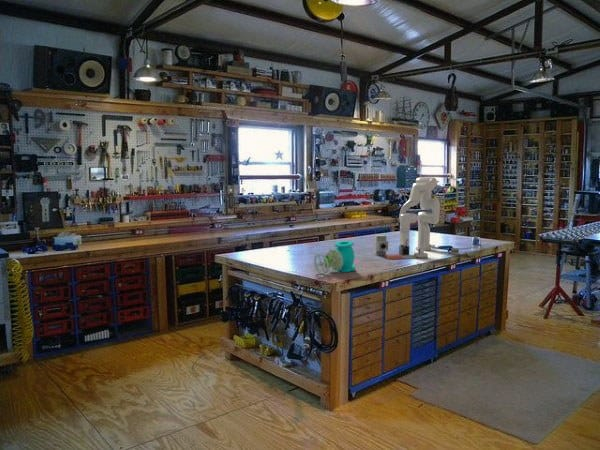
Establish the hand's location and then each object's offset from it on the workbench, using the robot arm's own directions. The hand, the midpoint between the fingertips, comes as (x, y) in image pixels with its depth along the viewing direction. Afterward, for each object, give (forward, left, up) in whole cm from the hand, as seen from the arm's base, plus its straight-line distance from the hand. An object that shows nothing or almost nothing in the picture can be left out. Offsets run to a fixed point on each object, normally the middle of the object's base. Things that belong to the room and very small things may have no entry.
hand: (404, 252), depth 390 cm
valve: (+69, +52, -2) cm, 87 cm away
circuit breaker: (+18, -3, -2) cm, 18 cm away
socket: (0, 0, -2) cm, 2 cm away
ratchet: (+3, +13, -2) cm, 14 cm away
